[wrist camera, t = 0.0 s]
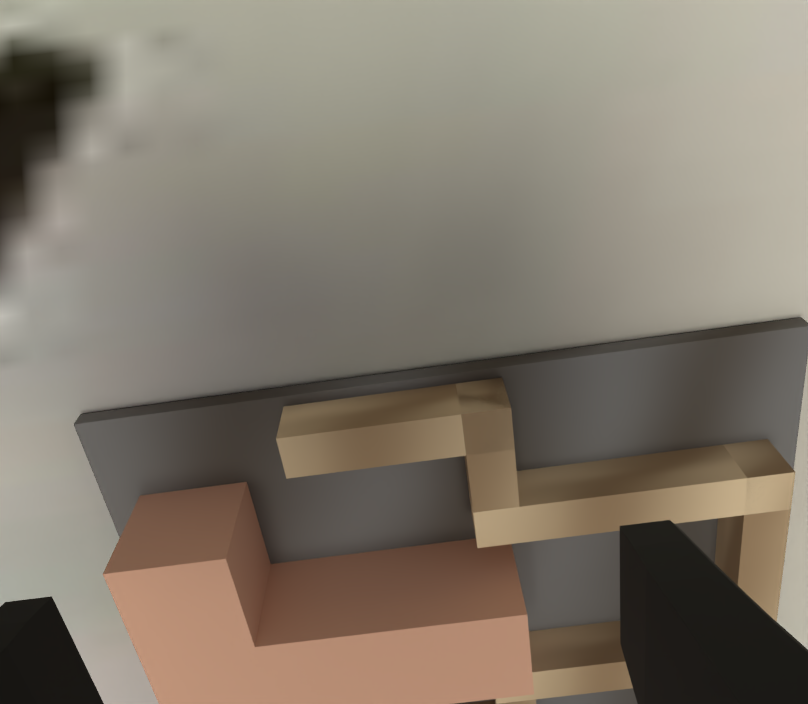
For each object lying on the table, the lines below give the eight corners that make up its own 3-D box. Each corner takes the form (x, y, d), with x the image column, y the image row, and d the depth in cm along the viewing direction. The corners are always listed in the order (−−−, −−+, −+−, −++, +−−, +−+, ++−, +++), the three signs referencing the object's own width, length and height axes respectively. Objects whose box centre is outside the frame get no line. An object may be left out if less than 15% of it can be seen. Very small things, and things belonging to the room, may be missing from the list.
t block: (501, 448, 20) (519, 522, 17) (522, 676, 24) (540, 763, 21) (139, 495, 20) (102, 574, 18) (221, 711, 24) (201, 801, 22)
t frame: (801, 317, 19) (844, 352, 17) (757, 686, 25) (786, 740, 23) (81, 414, 20) (50, 457, 18) (214, 748, 26) (201, 805, 24)
